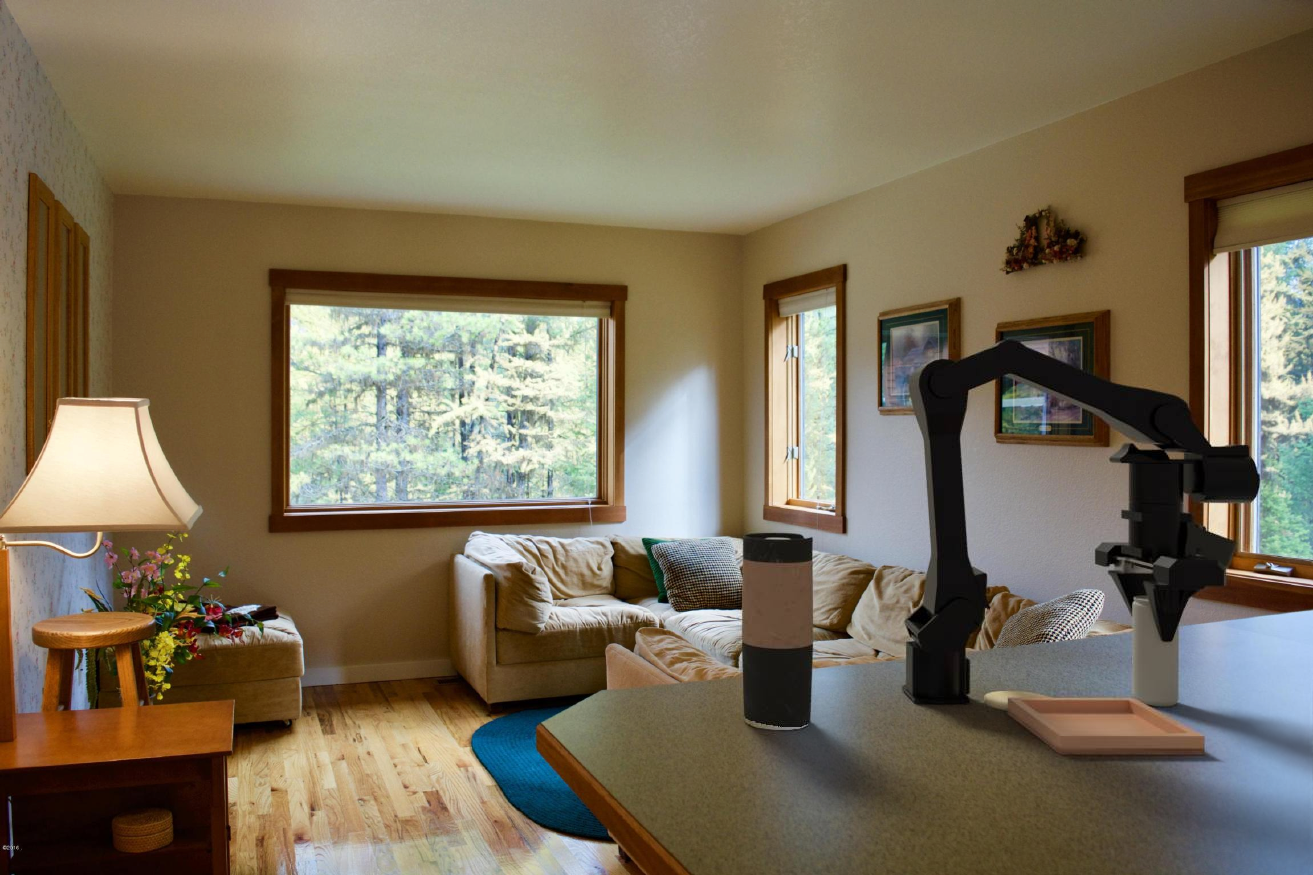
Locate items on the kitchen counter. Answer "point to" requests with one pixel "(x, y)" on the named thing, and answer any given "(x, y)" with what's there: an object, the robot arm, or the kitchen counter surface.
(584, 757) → the kitchen counter surface
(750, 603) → the travel mug
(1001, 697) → the cork coaster
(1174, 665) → the beverage can
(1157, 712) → the tray
